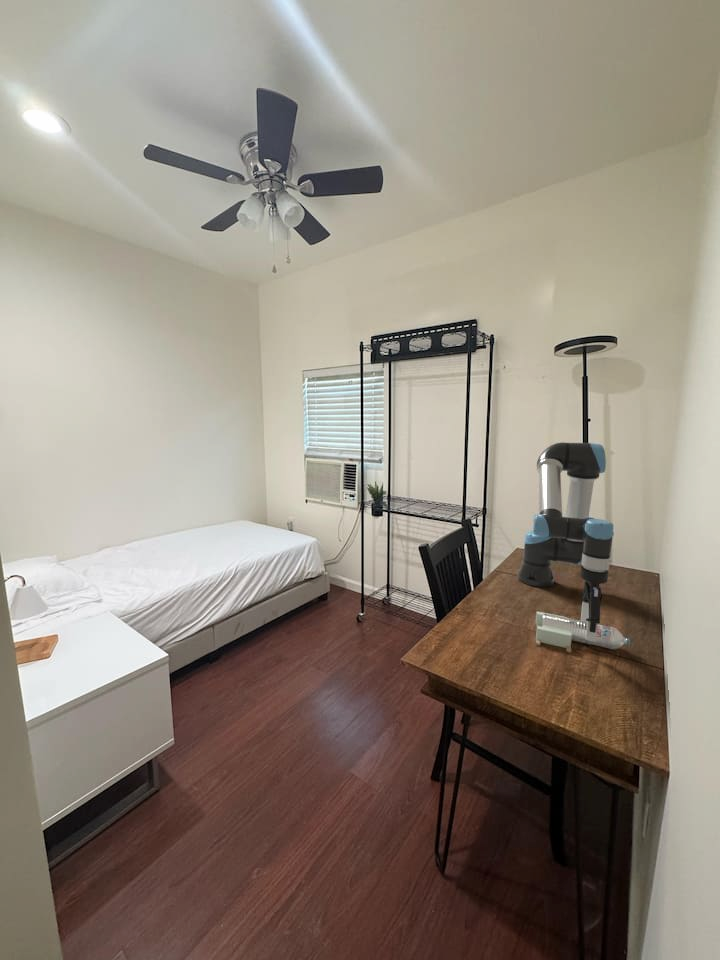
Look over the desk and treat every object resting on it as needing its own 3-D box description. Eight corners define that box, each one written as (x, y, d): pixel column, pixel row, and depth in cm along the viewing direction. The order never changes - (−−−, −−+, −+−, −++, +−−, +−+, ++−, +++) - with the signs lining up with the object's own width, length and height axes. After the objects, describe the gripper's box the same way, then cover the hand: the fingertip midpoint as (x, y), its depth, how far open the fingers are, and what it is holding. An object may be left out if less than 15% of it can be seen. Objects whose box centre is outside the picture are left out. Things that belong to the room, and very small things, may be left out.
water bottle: (541, 637, 129) (630, 657, 118) (543, 619, 127) (633, 638, 117) (541, 626, 135) (625, 644, 124) (542, 609, 133) (628, 626, 123)
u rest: (536, 644, 124) (537, 631, 123) (535, 620, 140) (536, 608, 139) (570, 652, 120) (572, 639, 119) (566, 626, 136) (567, 614, 135)
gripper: (616, 584, 109) (608, 653, 112) (602, 557, 132) (595, 615, 135) (586, 579, 112) (578, 646, 115) (577, 554, 135) (571, 611, 138)
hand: (587, 630), depth 125 cm, fingers open, 13 cm apart
